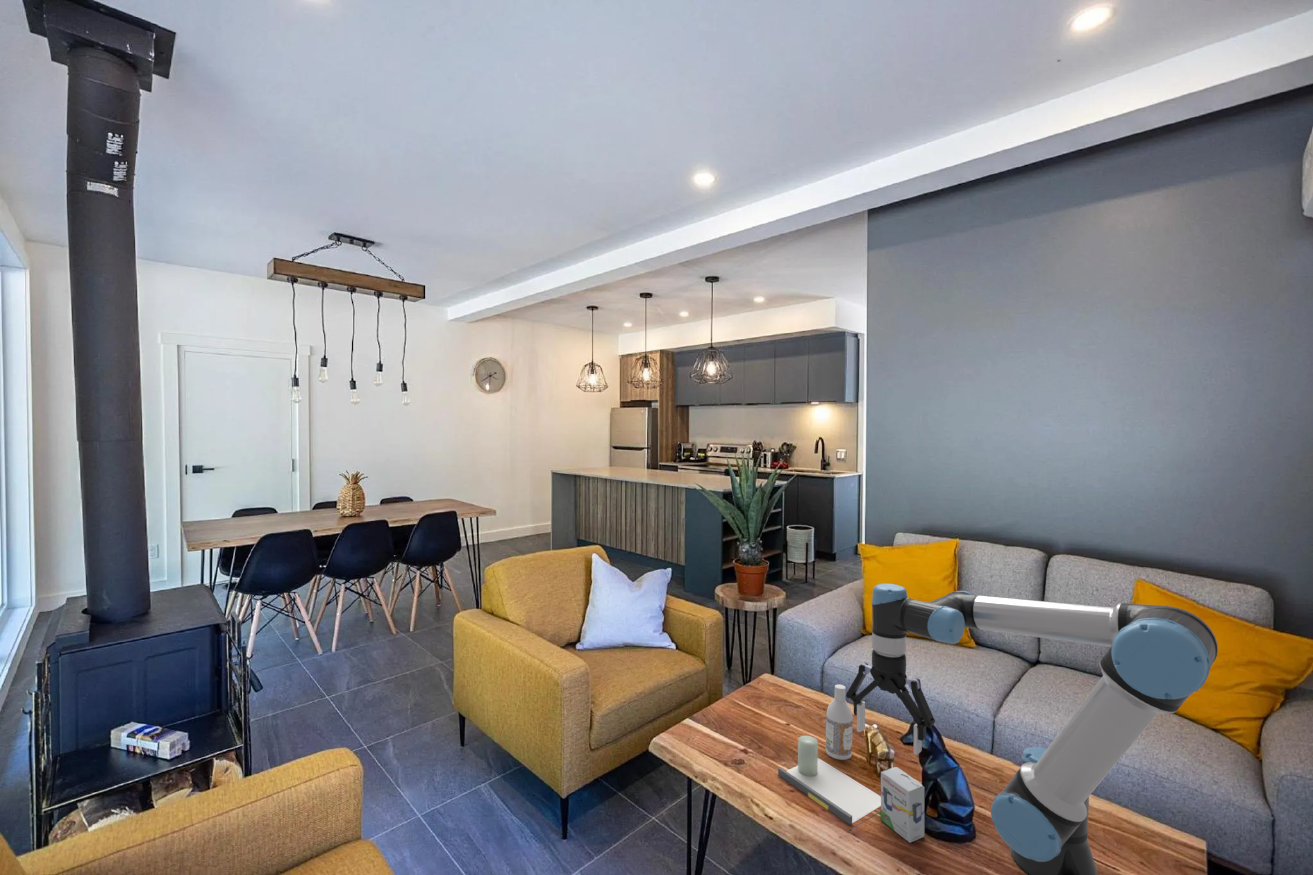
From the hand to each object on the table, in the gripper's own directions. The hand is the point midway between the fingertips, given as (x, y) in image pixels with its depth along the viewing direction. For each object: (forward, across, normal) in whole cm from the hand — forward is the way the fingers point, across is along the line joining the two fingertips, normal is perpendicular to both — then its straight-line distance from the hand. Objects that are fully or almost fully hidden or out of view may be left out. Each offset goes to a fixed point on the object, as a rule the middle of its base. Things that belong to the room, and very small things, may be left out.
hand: (888, 740), depth 135 cm
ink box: (+18, -4, +2) cm, 19 cm away
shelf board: (+18, +13, +2) cm, 22 cm away
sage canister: (+16, +21, 0) cm, 27 cm away
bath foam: (+18, +20, -14) cm, 30 cm away
